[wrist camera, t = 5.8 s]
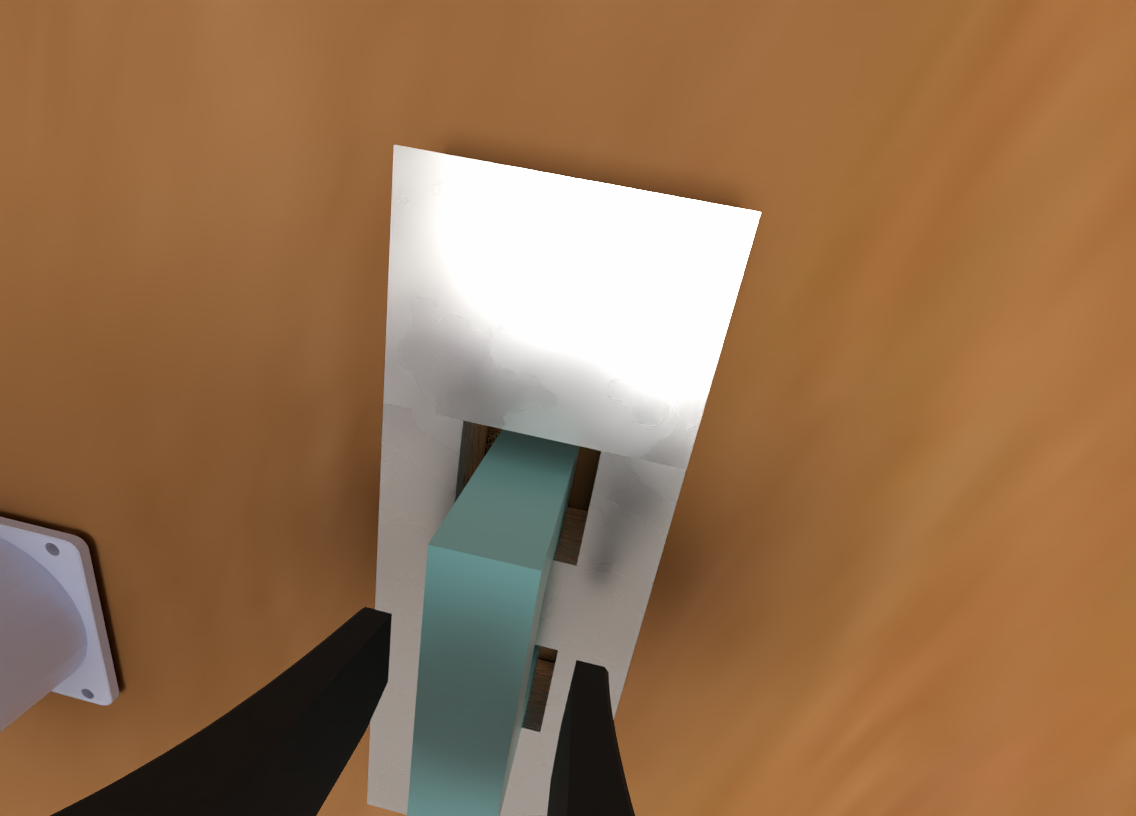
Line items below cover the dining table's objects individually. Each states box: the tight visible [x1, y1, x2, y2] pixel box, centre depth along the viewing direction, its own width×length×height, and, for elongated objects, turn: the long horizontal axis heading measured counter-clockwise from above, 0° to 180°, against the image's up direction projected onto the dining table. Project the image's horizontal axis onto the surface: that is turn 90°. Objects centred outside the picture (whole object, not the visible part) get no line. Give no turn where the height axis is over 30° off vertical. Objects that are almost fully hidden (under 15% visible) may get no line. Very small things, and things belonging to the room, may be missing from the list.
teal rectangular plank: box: [407, 429, 580, 816], centre depth 13 cm, size 2×8×6 cm, turn 171°
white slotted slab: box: [367, 145, 761, 816], centre depth 15 cm, size 7×20×2 cm, turn 170°
